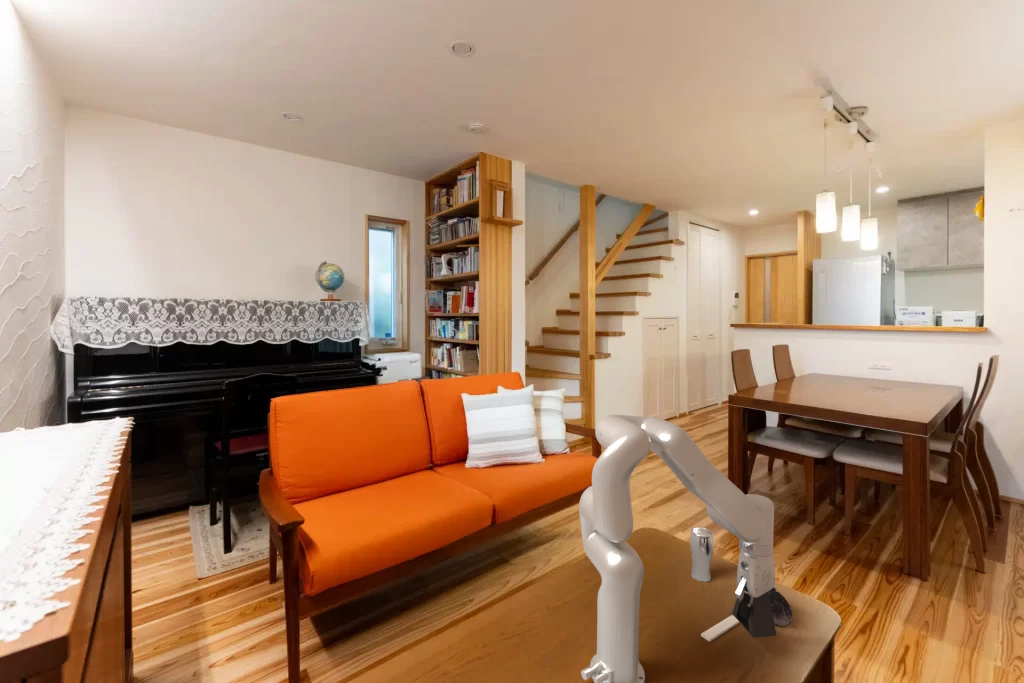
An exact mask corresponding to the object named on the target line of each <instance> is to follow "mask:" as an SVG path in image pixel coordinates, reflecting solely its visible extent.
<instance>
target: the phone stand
mask: <svg viewBox="0 0 1024 683" xmlns="http://www.w3.org/2000/svg"><path fill="white" fill-rule="evenodd" d="M745 590H746V591H748V589H747V588H746V589H745ZM749 596H750V595H748V594H746V593H745V595H744V597H746V598H747V599H749ZM752 606H754V614H753V617H752V615H751V611H750V608H749V617H748V620H747V619H745V618H743V617H741V616H740V601H739V599H738V598H737V597H736V600H735V603H734V607H733V608H732V609H733V610H732V614H731V615H733V616H734V617H735V618H736V619H737V620H738V621H739V622H740V623H739V624H740V625H741V626H742V627H743V628H744V629H745V631H746V632H747V633H748V634H749V635H750V636H751V637H752V638H764V637H765V638H767V637H776V636H777V629H776V624H775V623H774V618H773V612H772V607H771V601H770V596H769V591H768V592H766V593H764V594H763V595H761V596H759V597H757V598H753V603H752Z"/></svg>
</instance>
